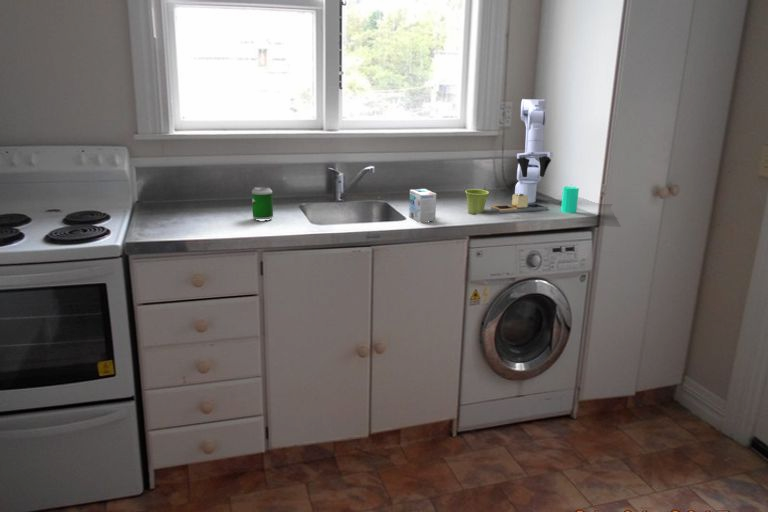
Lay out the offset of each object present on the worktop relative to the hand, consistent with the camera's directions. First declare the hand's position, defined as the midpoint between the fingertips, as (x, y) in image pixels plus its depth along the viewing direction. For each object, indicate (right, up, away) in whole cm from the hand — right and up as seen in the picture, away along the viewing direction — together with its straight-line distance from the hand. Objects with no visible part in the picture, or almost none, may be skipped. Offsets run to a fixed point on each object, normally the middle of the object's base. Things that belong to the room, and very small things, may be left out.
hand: (533, 176), depth 257 cm
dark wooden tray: (-4, -13, +10) cm, 17 cm away
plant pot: (-21, -14, +7) cm, 26 cm away
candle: (+16, -14, +8) cm, 23 cm away
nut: (-3, -12, +10) cm, 16 cm away
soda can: (-104, -17, -9) cm, 106 cm away
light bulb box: (-44, -17, -4) cm, 47 cm away
